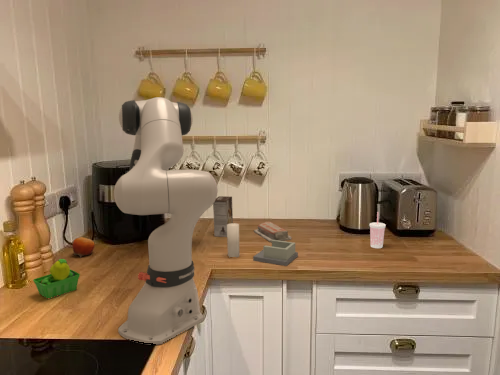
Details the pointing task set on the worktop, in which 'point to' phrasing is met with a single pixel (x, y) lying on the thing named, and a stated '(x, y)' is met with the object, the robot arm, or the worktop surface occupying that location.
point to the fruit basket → (57, 280)
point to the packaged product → (272, 232)
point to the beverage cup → (377, 233)
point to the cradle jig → (277, 253)
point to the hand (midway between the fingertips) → (204, 196)
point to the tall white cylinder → (233, 239)
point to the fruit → (83, 246)
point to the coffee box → (222, 215)
